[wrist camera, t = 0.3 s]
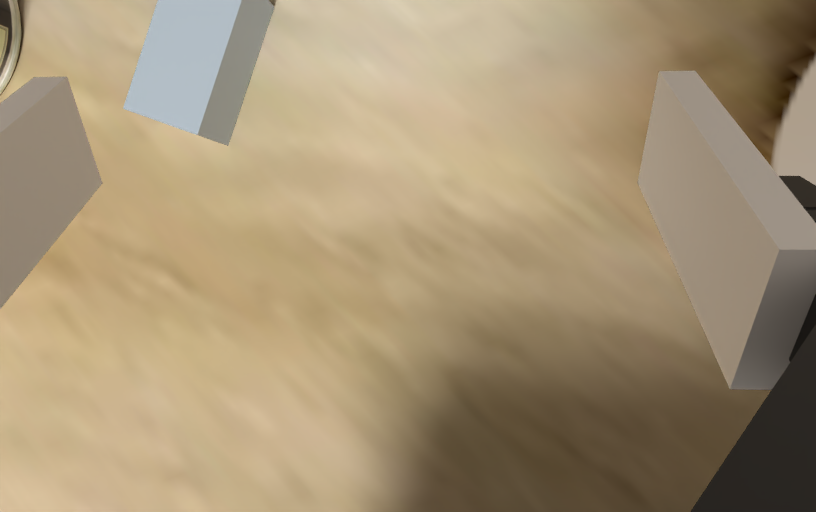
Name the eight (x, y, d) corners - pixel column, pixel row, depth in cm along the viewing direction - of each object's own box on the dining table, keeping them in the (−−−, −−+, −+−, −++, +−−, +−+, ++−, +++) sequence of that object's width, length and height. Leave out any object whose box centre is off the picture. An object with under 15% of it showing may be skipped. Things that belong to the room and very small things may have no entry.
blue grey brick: (229, 146, 34) (197, 135, 30) (163, 122, 34) (123, 108, 30) (275, 7, 33) (249, -23, 29) (208, -15, 33) (173, -48, 29)
